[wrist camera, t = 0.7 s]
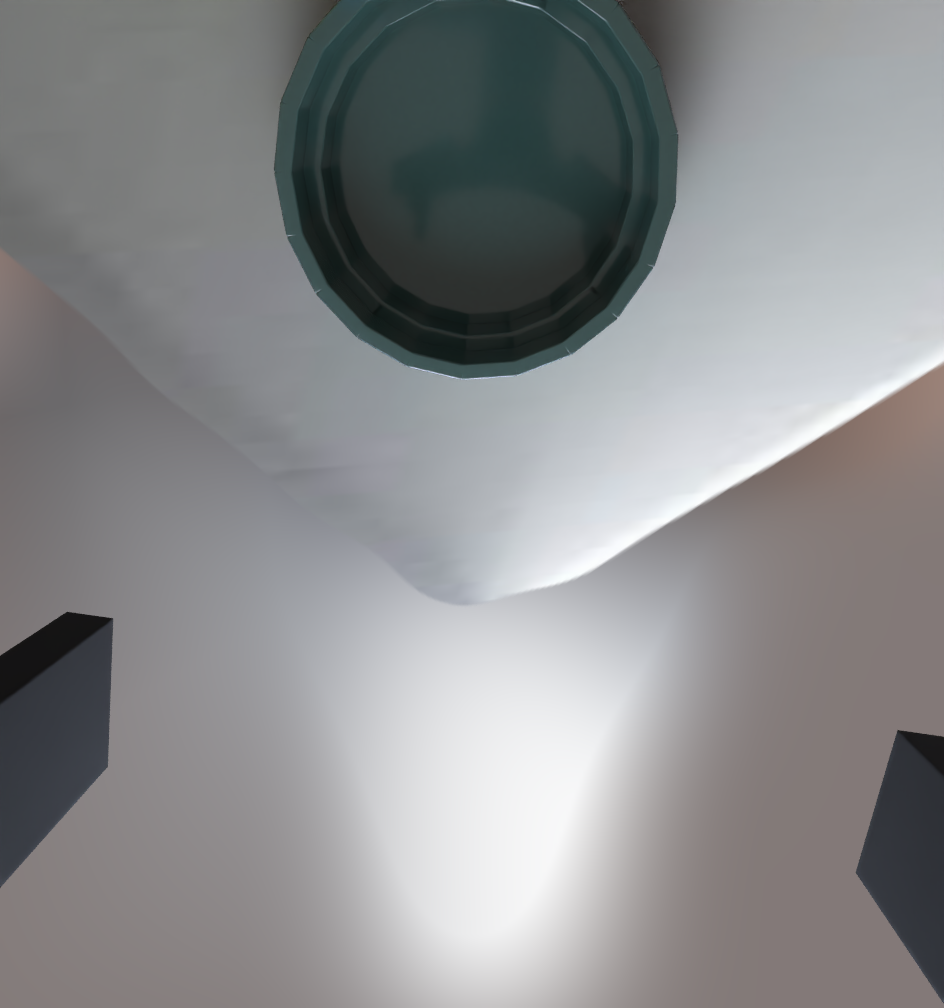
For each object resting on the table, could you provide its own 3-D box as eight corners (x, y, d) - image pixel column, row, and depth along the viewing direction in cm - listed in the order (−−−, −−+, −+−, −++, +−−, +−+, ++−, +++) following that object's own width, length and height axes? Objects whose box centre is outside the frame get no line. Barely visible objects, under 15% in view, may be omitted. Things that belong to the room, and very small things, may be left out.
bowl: (500, -143, 28) (499, -182, 24) (726, 196, 33) (756, 210, 29) (231, 156, 33) (193, 165, 29) (462, 409, 38) (457, 445, 34)
